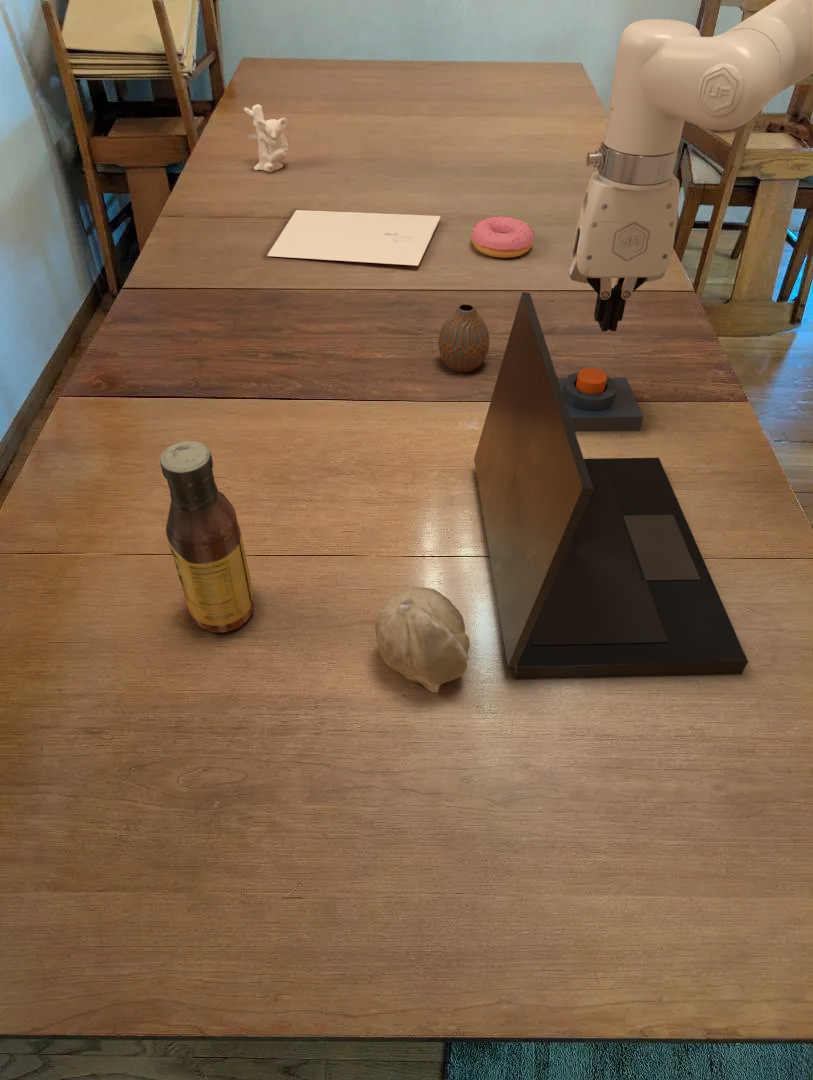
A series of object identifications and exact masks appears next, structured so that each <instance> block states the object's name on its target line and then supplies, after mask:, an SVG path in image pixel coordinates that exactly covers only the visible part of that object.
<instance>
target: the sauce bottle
mask: <svg viewBox="0 0 813 1080" xmlns="http://www.w3.org/2000/svg"><path fill="white" fill-rule="evenodd" d="M213 461H214V460H213V456H212V453H211V449H210V448H209V447H208V446H207V445H206V444H204V443H202V442H200V441H195V440H186V441H185V440H183V441H180V442H176V443H174V444H172V445H171V446H169V447H167V448H165V450H164V451H162V453H161V455H160V458H159V463H160V468H161V473H162V475H163V477H164V478H165V480H166V482H167V485H168V490H169V492H170V493H169V496H170V497H169V498H170V505H169V510H168V514H167V520H166V525H165V534H166V535H165V536H166V539H167V542H168V545H169V548H170V552H171V554H172V558H173V561H174V565H175V568H176V572H177V576H178V579H179V581H180V585H181V588H182V592H183V595H184V599H185V601H186V606H187V608H188V611H189V613H190V615H191V616H192V620H193V621H194V622H195V624H197V625H198V626H199V627H200V628H202V629H204V630H206V631H208V632H211V633H226V632H231V631H234V630H238V629H240V628H241V627H242V626H243V625H245V624H246V622H247V621H248V620H249V619H250V618H251V616H252V614H253V613H254V608H255V607H254V606H255V604H254V591H253V585H252V580H251V574H250V569H249V565H248V560H247V556H246V551H245V546H244V540H243V536H242V531H241V527H240V525H239V523H238V522H239V521H238V518H237V513H236V509H235V507H234V506H233V504H232V503H231V501H230V500H229V499H228V497H226V495H225V494H224V493H223V492H221V491H219V490H218V486H217V484H216V481H215V477H214V471H213V467H214V462H213Z"/></svg>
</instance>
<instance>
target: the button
mask: <svg viewBox="0 0 813 1080" xmlns="http://www.w3.org/2000/svg"><path fill="white" fill-rule="evenodd" d="M579 371H580V372H579ZM579 371H578V372H579V373H578V378H577V383H576V388H577V389H578V390H580V391H581V392H584V393H588V394H600V393H602V392H604V390H605V386H606V381H607V376H608V375H607V374H606V372H604V371H603V370H601V369H598V368H594V367H586V368H584V369H581V370H579Z"/></svg>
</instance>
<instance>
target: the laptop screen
mask: <svg viewBox="0 0 813 1080" xmlns="http://www.w3.org/2000/svg"><path fill="white" fill-rule="evenodd" d="M518 302H519V303H518V306H517V309H516V312H515V316H514V319H513V323H512V326H511V330H510V333H509V337H508V341H507V343H506V346H505V351H504V353H503V358H502V360H501V364H500V368H499V371H498V374H497V377H496V382H495V385H494V388H493V392H492V394H491V399H490V403H489V406H488V409H487V412H486V416H485V420H484V422H483V427H482V430H481V433H480V437H479V441H478V444H477V447H476V451H475V454H474V458H473V460H474V468H475V474H476V480H477V486H478V491H479V499H480V504H481V510H482V517H483V522H484V528H485V534H486V541H487V547H488V548H487V549H488V552H489V559H490V565H491V571H492V577H493V584H494V590H495V596H496V602H497V608H498V613H499V621H500V626H501V633H502V639H503V645H504V651H505V657H506V662H507V664H506V665H507V668H508V667H509V668H513V667H516V666H517V664H518V662H519V660H520V657H521V655H522V653H523V650H524V648H525V646H526V643H527V641H528V639H529V636H530V634H531V632H532V630H533V627H534V625H535V623H536V620H537V618H538V616H539V613H540V611H541V609H542V606H543V604H544V602H545V600H546V597H547V595H548V593H549V590H550V588H551V586H552V583H553V581H554V579H555V576H556V574H557V572H558V570H559V567H560V565H561V563H562V560H563V558H564V556H565V553H566V551H567V549H568V546H569V544H570V542H571V540H572V537H573V535H574V533H575V530H576V528H577V526H578V523H579V521H580V519H581V516H582V514H583V512H584V510H585V507H586V505H587V503H588V500H589V498H590V496H591V493H592V491H593V486H592V483H591V480H590V477H589V474H588V471H587V468H586V465H585V461H584V459H585V458H584V456H583V452H582V450H581V446H580V443H579V439H578V437H577V434H576V432H575V431H574V428H573V425H572V421H571V418H570V415H569V412H568V409H567V406H566V403H565V400H564V397H563V394H562V391H561V388H560V384H559V381H558V378H559V377H558V375H557V372H556V369H555V366H554V364H553V360H552V356H551V354H550V351H549V347H548V344H547V342H546V339H545V336H544V332H543V330H542V327H541V323H540V320H539V317H538V314H537V311H536V307H535V305H534V301H533V298H532V296H531V293H530V292H525V291H522V292H521V295H520V299H519V301H518Z"/></svg>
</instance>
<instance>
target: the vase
mask: <svg viewBox="0 0 813 1080" xmlns="http://www.w3.org/2000/svg"><path fill="white" fill-rule="evenodd" d="M489 349H490V333H489V330H488V326H487V324H486V322H485V321H484V319H483V318H482V317H481V316H480V314H479V312H478V311H477V307H476V306H475V304H472V303H469V302H463V303H459V304H458V305H457V307H456V308H455V310H454V311H453V312H452V313H451V314H450V315H449V316H448V318H447V319H446V320H445V321H444V323H443V324H442V326H441V328H440V332H439V335H438V351H439V355H440V358H441V360H442V361H443V363H444V364H445V365H446V367H448V369H451V370H452V371H454V372H458V373H469V372H472V371H474V370H476V369H478V368H479V367H480V366H481V365H482V364H483V363H484V361H485V359H486V357H487V355H488V352H489Z"/></svg>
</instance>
